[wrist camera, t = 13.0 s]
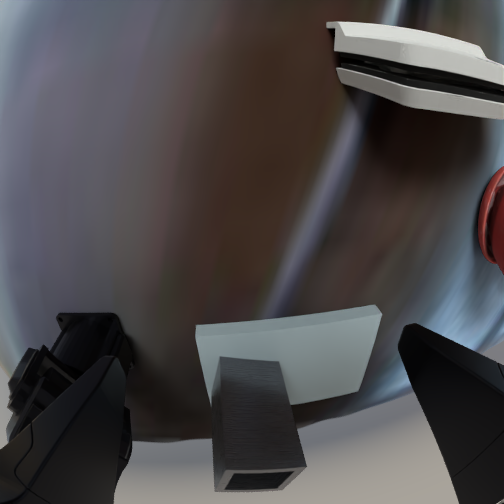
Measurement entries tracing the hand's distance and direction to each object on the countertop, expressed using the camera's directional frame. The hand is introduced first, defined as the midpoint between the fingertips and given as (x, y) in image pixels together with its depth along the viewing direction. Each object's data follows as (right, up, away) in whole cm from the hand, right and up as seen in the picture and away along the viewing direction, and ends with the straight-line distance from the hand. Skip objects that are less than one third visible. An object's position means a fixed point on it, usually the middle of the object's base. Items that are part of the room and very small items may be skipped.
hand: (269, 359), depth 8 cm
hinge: (+13, +18, +8) cm, 24 cm away
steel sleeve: (-1, -8, +16) cm, 18 cm away
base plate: (+3, -7, +18) cm, 20 cm away
